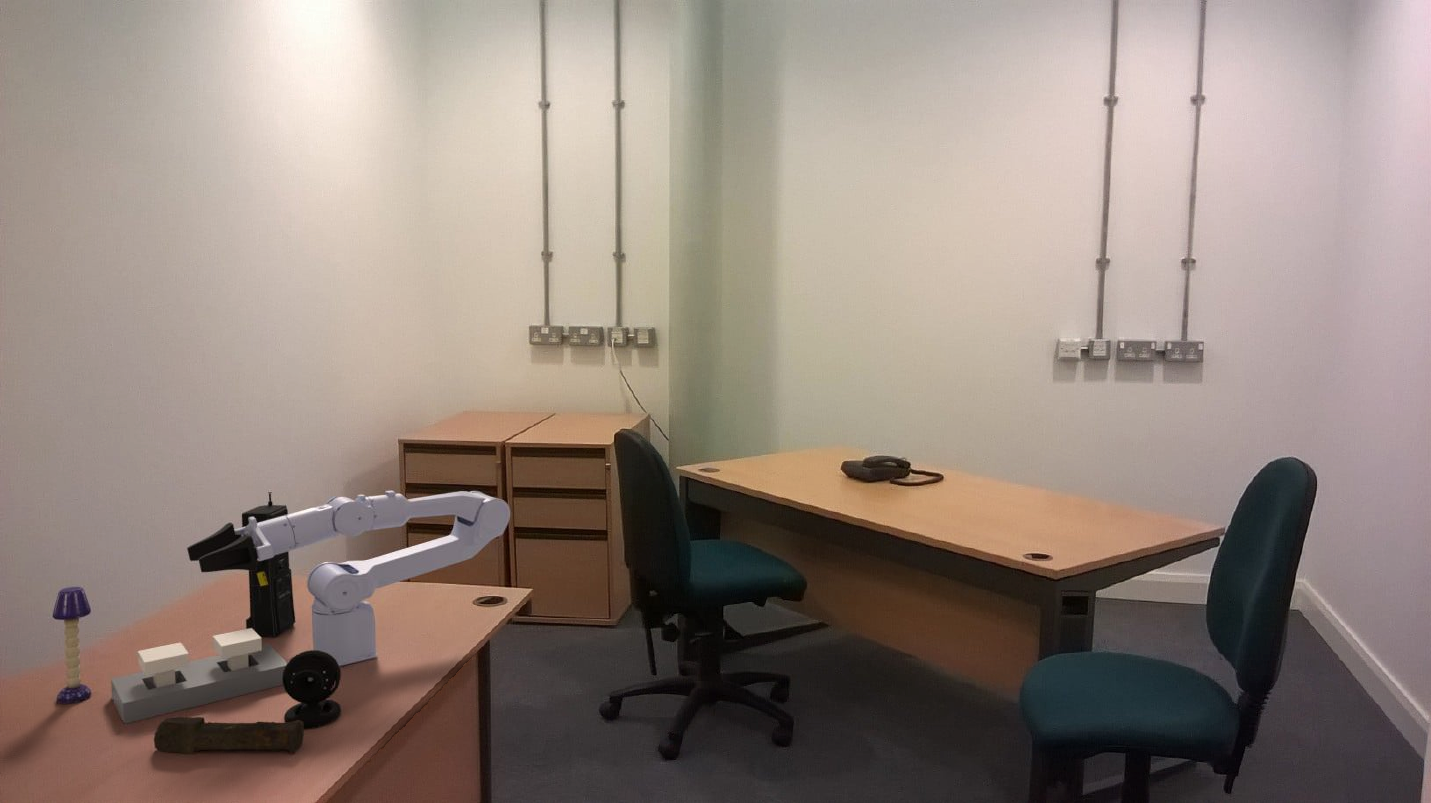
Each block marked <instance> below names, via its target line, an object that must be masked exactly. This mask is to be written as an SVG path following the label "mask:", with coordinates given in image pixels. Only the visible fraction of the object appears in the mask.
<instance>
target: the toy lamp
mask: <svg viewBox="0 0 1431 803" xmlns="http://www.w3.org/2000/svg"><path fill="white" fill-rule="evenodd" d="M54 604H55V605H54V608H53V610H52V611H53V612H52V618H53V619H54V620H57V621H63V624H64V626H65V628H64V636H65V638H64V644H65V650H64V654H65V656H66V659H65V666H66V670H65V673H66V674H65V675H66V677H67V678H66V680H65V681H66V683H65V684H66V686H65V687H63V688H61V690H60V691H59V692H58V694H57V696H56V703H58V702H59V704H64V703H66V704H72V703H71V702H74V703H76V702H75V701H78V702H81V701H80V700H82V699H85V698H87V699H89V698H90V697H91V696H92V691H91V689H90V688H89V686H87V685H85V684H83V683H81V682H82V677H81V676H80V675H81V672H82V671H81V670H82V669H81V667H80V666H81V665H80V663H81V657H80V652H81V648H80V645H79V644H80V636H79V634H80V627H79V622H80V619H81V618H84V617H86V616H88V615H90V614H91V612H92V609H91V606H90V602H89V601H88V597H87V595H86V592H85V590H84V588H83V587H81V586H70V587H65V588H62V589H60V590H59V591H58V593H57V596H56V600H55V603H54ZM88 697H89V698H88ZM85 700H86V699H85ZM82 701H83V700H82Z"/></svg>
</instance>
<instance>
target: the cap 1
mask: <svg viewBox="0 0 1431 803" xmlns="http://www.w3.org/2000/svg"><path fill="white" fill-rule="evenodd" d="M137 662H138V664H137V665H138V666H139V667H140V669H141V670H142V671H141V672H143V673H144V675H145V676H147V675H152V674H153V677H154V684H155V686H156V687H157V688H158V687H163V686H167V685H172V684H175V669H179V668H184V667H188V666H189V662H190V655H189V652H188V650H187V649H186V647H185V646H184V645H183V644H182V642H176V643H171V644H166V645H162V646H160V645H159V646H156V647H151V648H147V649H141V650H137Z"/></svg>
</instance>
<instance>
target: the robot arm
mask: <svg viewBox="0 0 1431 803" xmlns="http://www.w3.org/2000/svg"><path fill="white" fill-rule="evenodd" d="M450 515H454V516H455V517H454V523H453V527H452V530H451V532H450V533H449V535H447V536H443V537H439V538H436V539H432V540H430V541H426V542H423V543H420V544H416V545H412V546H410V547H406V548H403V549H399V550H396V551H393V552H389V553H387V554H386V553H385V554H383V555H379V556H376V557H372V558H369V559H366V560H347V561H345V562H333V561H325V562H321V563H319V564H318V565H316V566H315V567H313V568H312V570H311V571H310V572H309V574H308V575H307V579H306V586H307V589H308V592H309V593H310V595H312V596H313V597H314V601H313V603H312V605H311V616H312V617H311V619H312V623H311V625H312V650H319V651H322V652H325V653H328V654H330V655H331V656H332V657H333V658H334V659H336V661H337V663H338V665H339V667H341V666H346V665H350V664H354V663H358V662H362V661H366V660H370V659H375V658H378V653H377V647H376V643H377V642H376V638H377V637H376V636H377V635H376V616H375V613H374V612H375V611H374V608H373V606H372V604H371V602H369V601H367V600H366V599H369V598H371V597H372V596H373V595H374V593H375V592H376V590H377V589H381V588H383V587H387V586H390V585H392V584H396V583H398V582H402V581H405V580H408V579H411V578H415V577H418V576H421V575H424V574H427V573H430V572H433V571H436V570H440V569H442V568H445V567H449V566H452V565H455V564H458V563H460V562H464V561H467V560H469V559H472V558H474V557H475V556H476V555H477V554H478V553H479V552H480V551H482V549H483V548H485V547H486V546H487V545H488V544H489V543H490V542H491V541H492V540H494V539H495V538H498V537H500V536H502V535H504V532H505V531H506V529H507V527H508V524H509V521H510V520H511V519H510V518H511V508H510V506H509V505H508V503H507V502H506V501H505V500H503V499H501V498H497V497H492V496H490V495H487V494H485V493H483V492H482V491H478V490H471V491H464V490H462V491H461V490H460V491H452V492H447V493H440V494H434V495H429V496H421V497H416V498H409V499H408V498H406V497H405V495H403V494H401V493H396V491H394V490H385V491H384V494H380V495H379V494H378V495H370V496H366V495H365V494H357V496H356V498H355V499H352V498H349V497H347V496H340V497H338V496H337V495H335V496H333V497H331V498H329V499H328V500H327V501H326V502H325V503H324V504H323V505H319V506H316V507H315V506H314V507H310V508H307V509H303V510H299V511H296V512H292V513H288V515H284V516H280V517H277V518H273V519H270V520H266V521H262V522H259V523H257V521H256V519H255V518H254V517H249V518H248V520H249V524H248V525H247V526H245V527H242V526H241V527H239V528H235V526H234V523H232V522H228V523H226V524H225V525H224V526H222V527H221V528H220V529H219V530H218V531H216V532H215V533H212V534H211V535H210V536H207V537H205V538H204V539H201V540H200V541H197V542H196V543H193V544H192V545H190V546H188V547H186V550H187V554H188V558H189V560H190V561H191V562H197V561H198V563H199V569H200V572H201V573H212V572H213V573H215V572H221V571H231V570H235V571H236V570H241V571H243V570H244V571H249V570H250V571H256V570H257V565H256V561H257V560H258V561H262V560H266V559H269V558H272V557H274V555H278V554H281V553H284V552H288V551H289V552H291V551H294V550H296V549H301V548H303V547H307V546H310V545H314V544H317V543H319V542H323V541H325V540H328V539H332V538H335V537H338V536H339V534H340V535H342V536H344V537H345V536H346V537H354V538H356V537H358V536H360V535H361V534H363V533H365V532H366V531H374V530H381V529H382V530H383V529H390V528H396V527H397V528H398V527H402V526H404V525H405V524H406V523H407V522H408V521H409V520H410V519H413V518H423V517H424V518H426V517H438V516H439V517H440V516H450ZM363 600H366V601H363Z"/></svg>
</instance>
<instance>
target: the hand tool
mask: <svg viewBox="0 0 1431 803" xmlns="http://www.w3.org/2000/svg"><path fill="white" fill-rule="evenodd" d="M304 731H305V729H304V723H303V721H300V720H296V721H293V722H288V723H285V722H274V721H270V722H269V721H257V722H216V721H215V722H210V721H208V722H205V717H203V716H196V717H191V716H190V717H188V716H185V717H184V716H176V717H166V718H165V720H163V721H162V722H160V723H159V724H158V726H157V729H156V731H155V732H154V736H153V743H154V748H155V749H156V750H157V751H160V752H165V753H166V752H167V753H170V754H183V755H186V754H187V755H195V754H196V753H199V752H200V751H205V750H206V751H211V750H212V751H213V750H215V751H216V750H217V751H221V750H223V751H228V750H238V751H239V750H240V751H245V750H247V751H248V750H249V751H251V750H252V751H281V750H284V751H289V753H290V754H291V755H294V754H296V752H297V751H298V750H299V749H300V748H301V746H302V743H303V741H304V740H303V739H304V735H305V732H304Z"/></svg>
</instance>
